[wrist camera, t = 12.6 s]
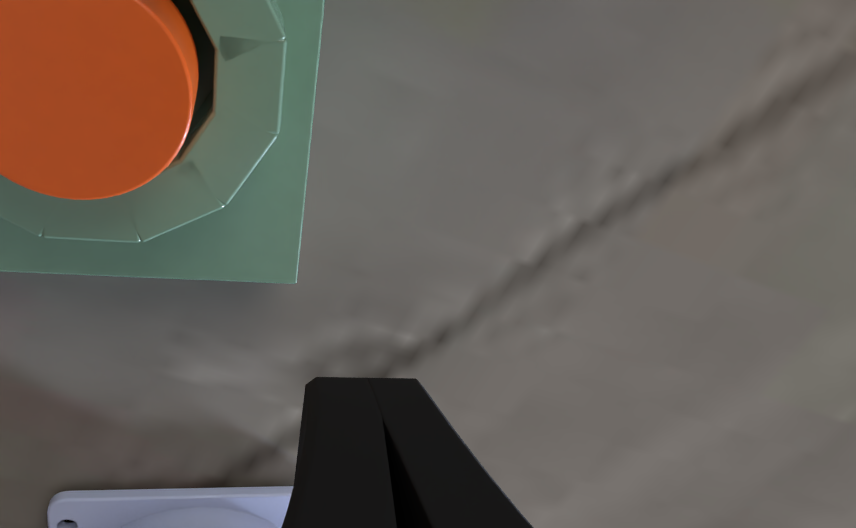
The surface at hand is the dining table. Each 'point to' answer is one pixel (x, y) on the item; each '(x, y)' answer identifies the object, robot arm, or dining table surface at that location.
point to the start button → (93, 93)
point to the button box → (201, 166)
